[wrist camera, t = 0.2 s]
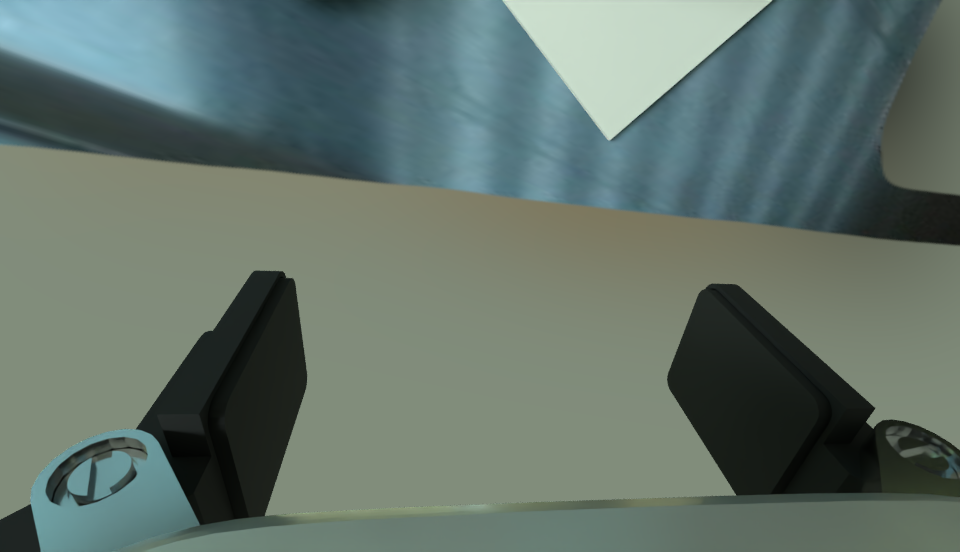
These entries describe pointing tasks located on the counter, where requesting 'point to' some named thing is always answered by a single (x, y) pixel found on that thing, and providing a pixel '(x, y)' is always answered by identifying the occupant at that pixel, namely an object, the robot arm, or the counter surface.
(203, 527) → the robot arm
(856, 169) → the counter surface
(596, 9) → the mat
